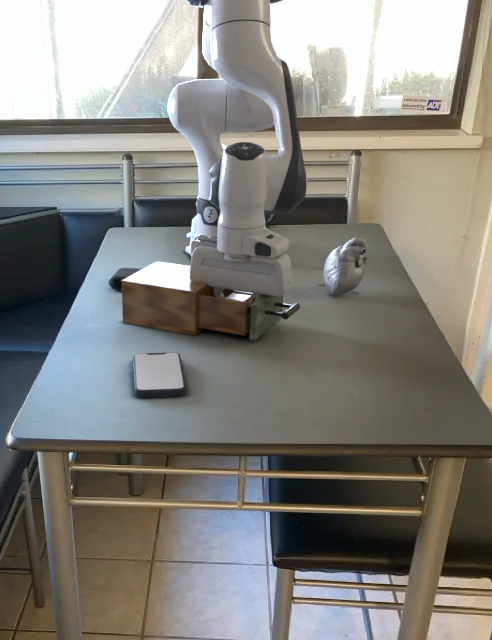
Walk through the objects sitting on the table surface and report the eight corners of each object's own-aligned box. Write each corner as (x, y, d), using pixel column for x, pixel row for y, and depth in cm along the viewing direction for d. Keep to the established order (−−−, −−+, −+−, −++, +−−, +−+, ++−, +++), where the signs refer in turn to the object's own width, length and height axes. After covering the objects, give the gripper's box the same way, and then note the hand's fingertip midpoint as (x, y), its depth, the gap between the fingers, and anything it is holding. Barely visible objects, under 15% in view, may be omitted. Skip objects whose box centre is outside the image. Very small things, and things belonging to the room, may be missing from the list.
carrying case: (105, 293, 183) (169, 296, 180) (104, 279, 181) (169, 282, 178) (117, 278, 192) (178, 281, 189) (117, 265, 190) (179, 268, 187)
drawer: (305, 322, 162) (308, 288, 158) (279, 344, 153) (282, 309, 149) (212, 307, 171) (213, 274, 167) (182, 327, 162) (183, 293, 158)
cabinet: (226, 312, 171) (228, 271, 166) (194, 335, 160) (195, 292, 155) (157, 301, 178) (156, 261, 173) (122, 322, 167) (121, 280, 163)
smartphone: (187, 398, 137) (180, 359, 150) (187, 389, 136) (180, 351, 149) (134, 400, 137) (132, 361, 150) (134, 391, 136) (132, 353, 149)
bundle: (236, 310, 166) (237, 287, 163) (256, 313, 164) (258, 290, 161) (217, 324, 160) (218, 300, 157) (237, 327, 158) (239, 304, 155)
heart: (323, 280, 185) (326, 228, 177) (365, 283, 182) (371, 231, 174) (314, 302, 179) (318, 249, 170) (359, 305, 176) (364, 252, 167)
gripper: (183, 237, 155) (183, 308, 163) (284, 249, 147) (278, 324, 154) (198, 229, 160) (197, 299, 168) (297, 241, 151) (291, 314, 159)
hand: (237, 311), depth 161 cm, fingers open, 5 cm apart
